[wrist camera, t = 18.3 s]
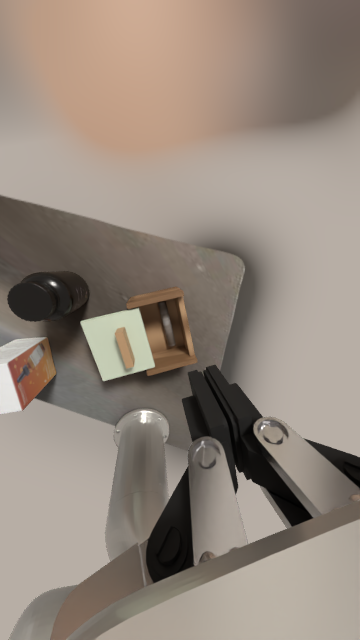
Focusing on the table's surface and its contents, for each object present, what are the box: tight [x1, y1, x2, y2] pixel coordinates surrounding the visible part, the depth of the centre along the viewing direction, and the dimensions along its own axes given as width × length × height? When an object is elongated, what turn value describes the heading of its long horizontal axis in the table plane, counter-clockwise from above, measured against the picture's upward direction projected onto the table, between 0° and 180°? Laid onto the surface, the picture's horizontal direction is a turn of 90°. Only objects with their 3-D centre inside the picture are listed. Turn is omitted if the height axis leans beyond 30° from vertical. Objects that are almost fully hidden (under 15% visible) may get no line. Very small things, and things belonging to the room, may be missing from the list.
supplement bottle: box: [7, 271, 89, 322], centre depth 27 cm, size 7×7×12 cm
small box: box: [0, 337, 56, 414], centre depth 30 cm, size 8×6×10 cm
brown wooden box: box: [126, 287, 197, 376], centre depth 34 cm, size 13×9×7 cm
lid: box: [80, 307, 155, 381], centre depth 29 cm, size 11×9×3 cm
